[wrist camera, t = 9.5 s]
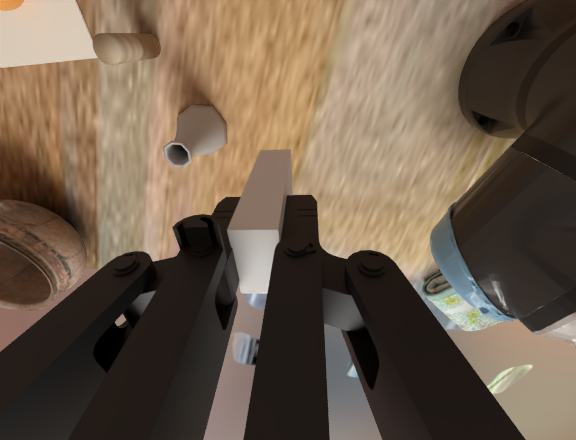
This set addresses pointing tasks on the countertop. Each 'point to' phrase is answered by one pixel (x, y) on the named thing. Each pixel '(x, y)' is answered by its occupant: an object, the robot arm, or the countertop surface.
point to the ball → (10, 4)
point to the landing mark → (44, 33)
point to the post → (125, 47)
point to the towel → (455, 304)
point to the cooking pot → (36, 255)
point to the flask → (196, 135)
